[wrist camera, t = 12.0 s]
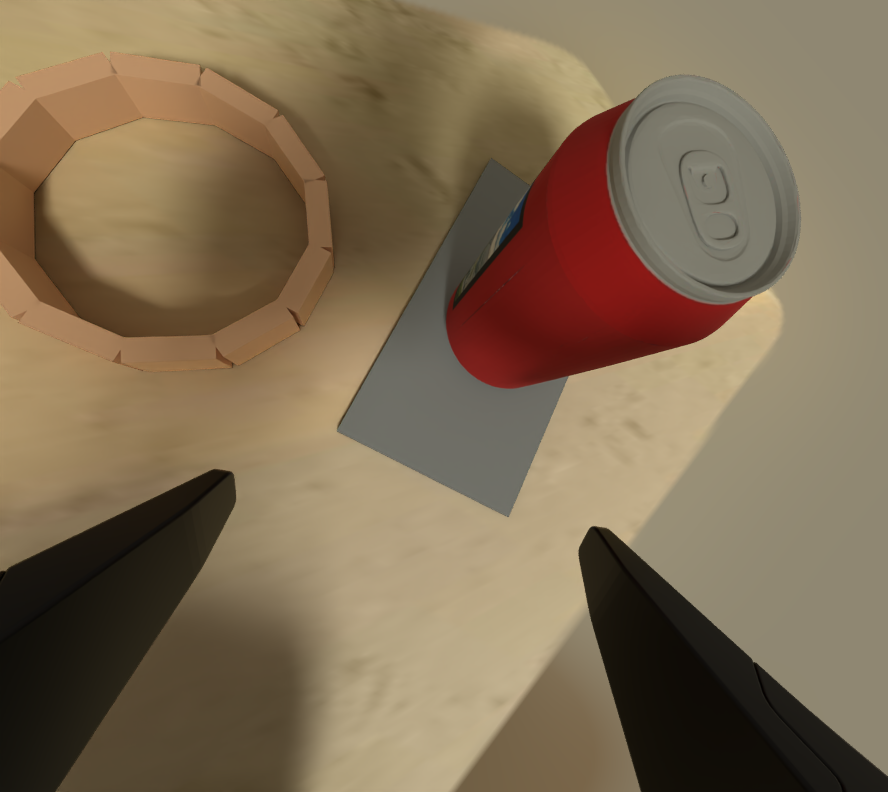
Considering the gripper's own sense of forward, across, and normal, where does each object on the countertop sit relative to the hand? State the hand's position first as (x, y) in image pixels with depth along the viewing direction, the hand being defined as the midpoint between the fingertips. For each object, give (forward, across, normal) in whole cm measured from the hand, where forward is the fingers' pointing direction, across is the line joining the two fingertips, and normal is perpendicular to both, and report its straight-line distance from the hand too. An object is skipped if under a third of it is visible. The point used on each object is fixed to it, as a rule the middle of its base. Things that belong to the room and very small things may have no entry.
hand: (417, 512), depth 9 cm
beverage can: (+13, -3, -2) cm, 13 cm away
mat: (+13, -3, -2) cm, 13 cm away
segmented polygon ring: (+11, +12, -4) cm, 17 cm away
